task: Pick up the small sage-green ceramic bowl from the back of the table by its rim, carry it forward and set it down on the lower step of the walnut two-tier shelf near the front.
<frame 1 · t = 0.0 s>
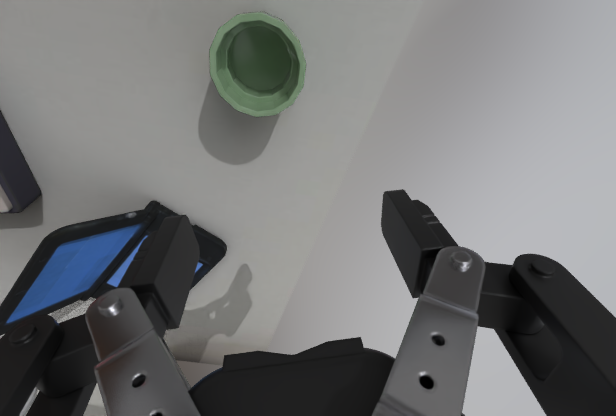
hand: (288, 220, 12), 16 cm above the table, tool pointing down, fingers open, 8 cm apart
bowl: (261, 58, 23), on the table
mug: (1, 365, 42), on the table
game console: (140, 253, 33), on the table
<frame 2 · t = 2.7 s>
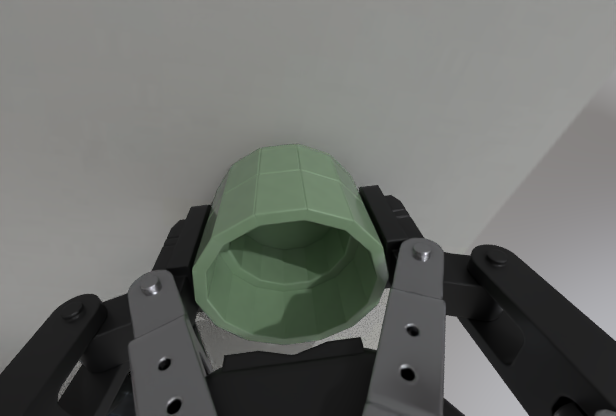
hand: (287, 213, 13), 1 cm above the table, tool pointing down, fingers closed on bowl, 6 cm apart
bowl: (287, 202, 13), on the table, touching gripper
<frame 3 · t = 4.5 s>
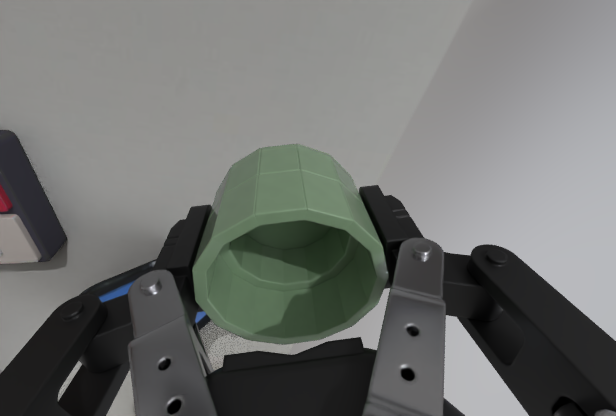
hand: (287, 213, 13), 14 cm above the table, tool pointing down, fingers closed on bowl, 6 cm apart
bowl: (287, 202, 13), point 13 cm above the table, touching gripper
game console: (158, 290, 34), on the table
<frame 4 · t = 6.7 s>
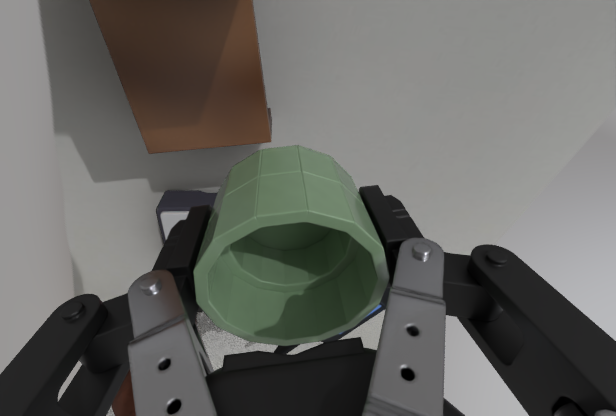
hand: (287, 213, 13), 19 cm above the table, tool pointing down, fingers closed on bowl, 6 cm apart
ice cream bowl: (178, 320, 45), on the table
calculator: (237, 228, 37), on the table
bowl: (288, 203, 13), point 18 cm above the table, touching gripper
game console: (334, 297, 46), on the table
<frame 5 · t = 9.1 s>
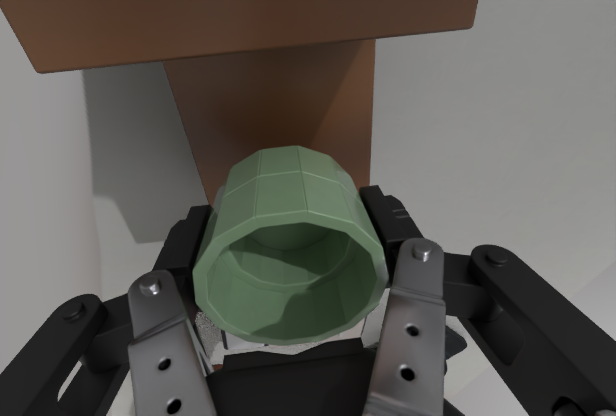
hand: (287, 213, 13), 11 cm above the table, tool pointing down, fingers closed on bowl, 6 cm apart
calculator: (294, 283, 32), on the table
bowl: (287, 203, 13), point 10 cm above the table, touching gripper
game console: (392, 346, 41), on the table
when the fingers open (7 cm above the table, at t = 10.8 s): bowl stays where it is, resting on shelf.
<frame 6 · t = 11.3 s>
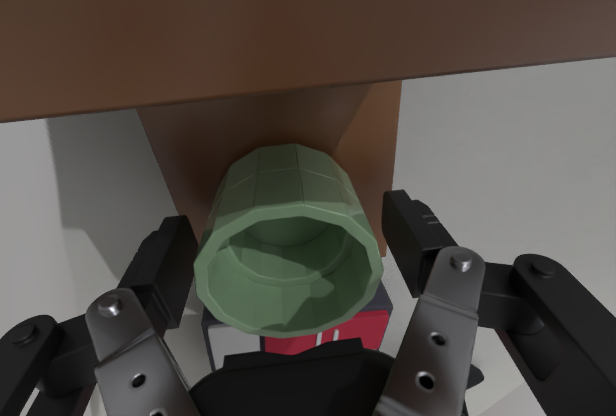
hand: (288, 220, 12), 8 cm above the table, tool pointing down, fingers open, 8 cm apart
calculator: (295, 318, 29), on the table
bowl: (286, 200, 14), point 6 cm above the table, touching shelf
game console: (402, 378, 38), on the table
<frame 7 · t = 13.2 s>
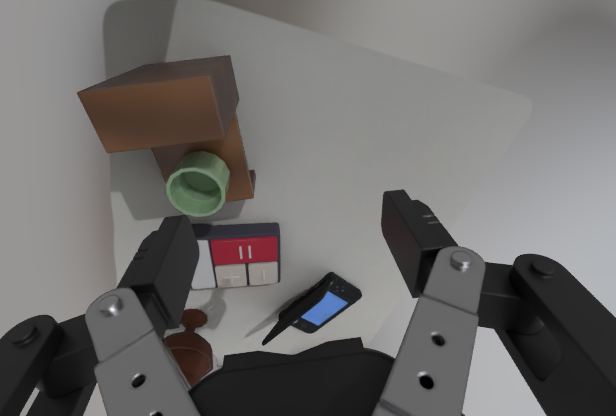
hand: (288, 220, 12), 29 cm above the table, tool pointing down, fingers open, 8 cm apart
ice cream bowl: (193, 316, 59), on the table
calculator: (235, 248, 51), on the table
bowl: (205, 172, 36), point 6 cm above the table, touching shelf
game console: (312, 296, 59), on the table
shelf: (158, 82, 35), on the table
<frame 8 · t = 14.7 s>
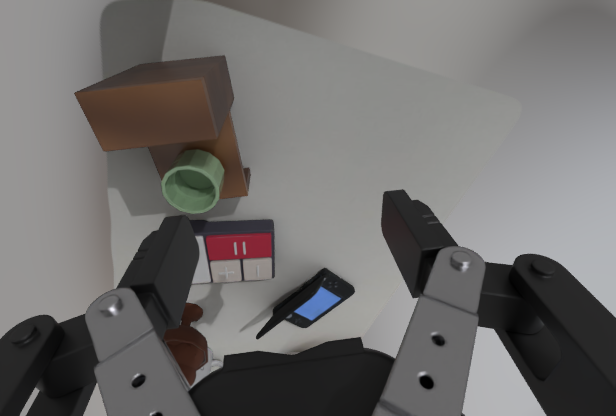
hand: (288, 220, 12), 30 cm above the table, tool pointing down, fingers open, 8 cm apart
ice cream bowl: (189, 310, 60), on the table
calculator: (230, 244, 52), on the table
bowl: (200, 170, 37), point 6 cm above the table, touching shelf
mug: (201, 354, 69), on the table
game console: (306, 292, 60), on the table
shelf: (154, 81, 36), on the table
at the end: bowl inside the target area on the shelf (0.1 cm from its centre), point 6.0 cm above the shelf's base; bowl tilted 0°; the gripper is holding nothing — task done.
